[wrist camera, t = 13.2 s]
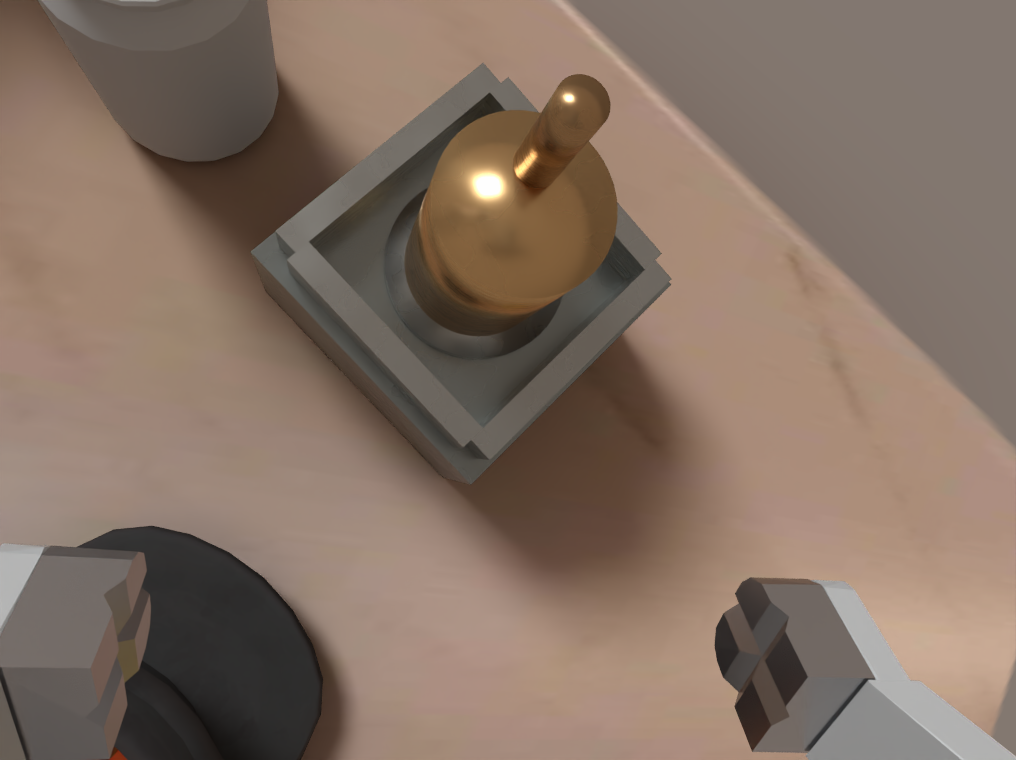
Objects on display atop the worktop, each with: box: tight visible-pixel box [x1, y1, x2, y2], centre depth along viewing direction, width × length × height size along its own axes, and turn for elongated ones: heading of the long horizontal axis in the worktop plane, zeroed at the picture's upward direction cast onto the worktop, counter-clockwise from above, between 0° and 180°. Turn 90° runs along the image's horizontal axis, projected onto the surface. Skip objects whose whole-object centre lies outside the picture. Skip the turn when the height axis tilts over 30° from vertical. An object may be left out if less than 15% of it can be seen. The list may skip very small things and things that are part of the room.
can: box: [38, 0, 279, 162], centre depth 28 cm, size 8×8×12 cm
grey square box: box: [251, 63, 671, 485], centre depth 31 cm, size 12×12×9 cm
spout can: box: [404, 74, 618, 336], centre depth 23 cm, size 6×6×12 cm
